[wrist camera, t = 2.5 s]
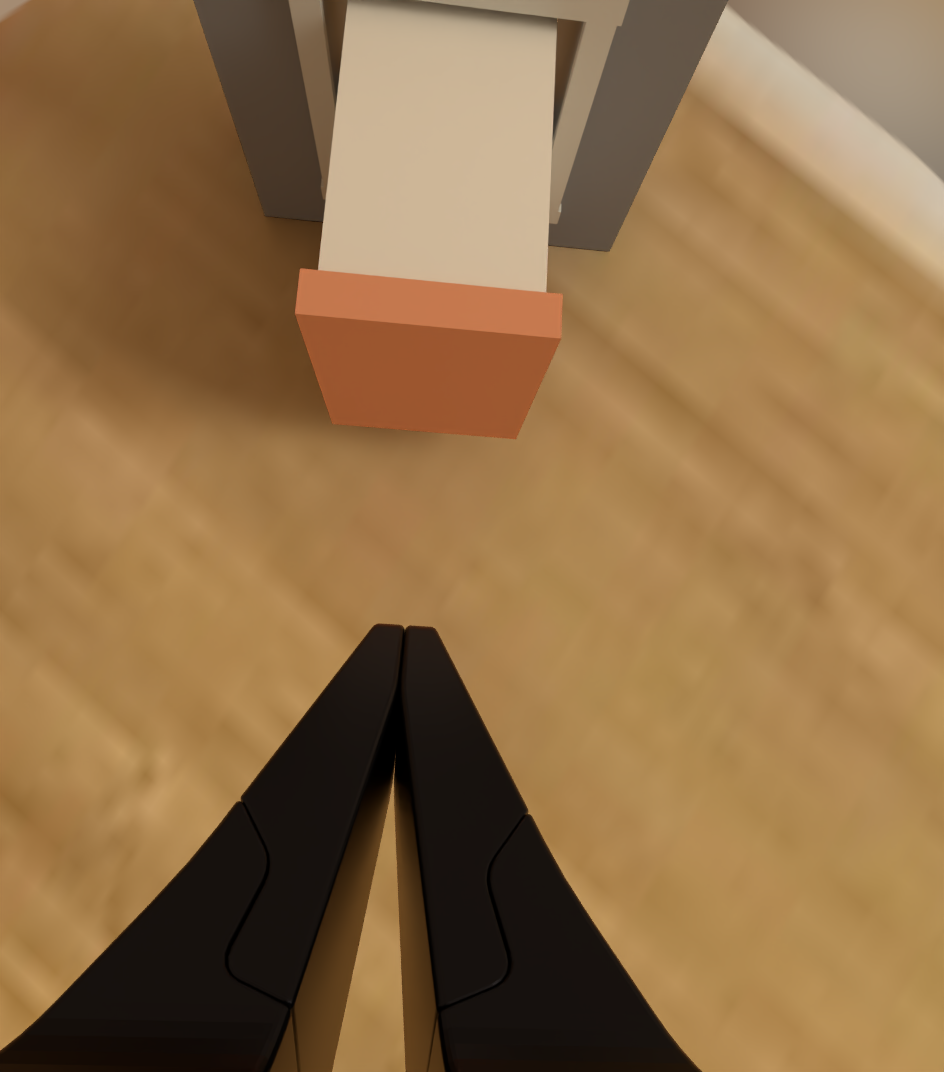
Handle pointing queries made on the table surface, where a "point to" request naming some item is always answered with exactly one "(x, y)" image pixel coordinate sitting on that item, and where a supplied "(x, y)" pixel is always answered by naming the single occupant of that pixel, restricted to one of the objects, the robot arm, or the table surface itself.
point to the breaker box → (579, 97)
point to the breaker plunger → (436, 222)
